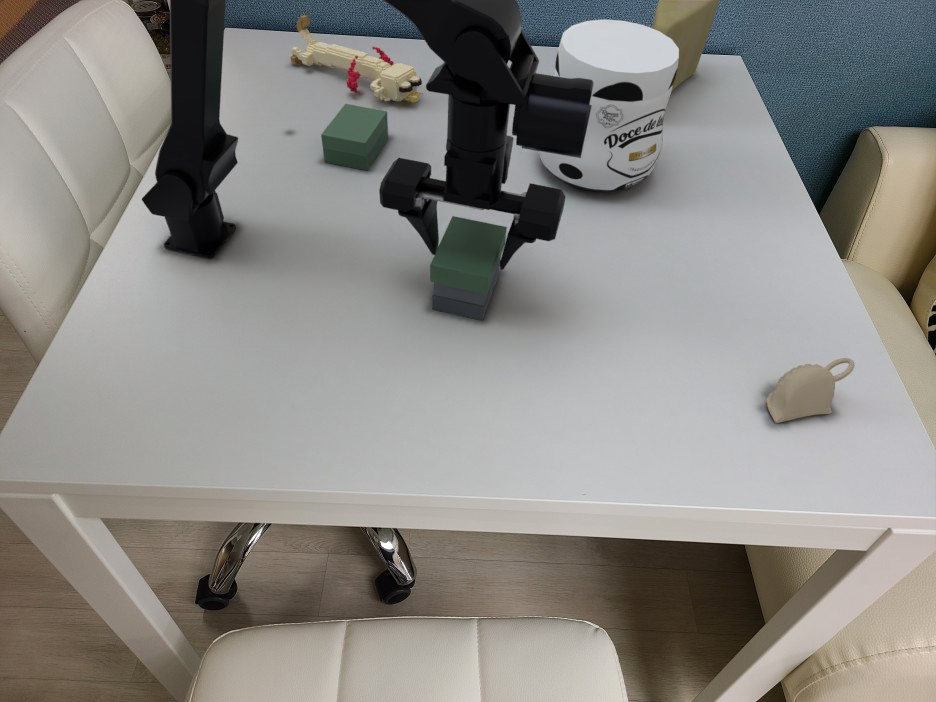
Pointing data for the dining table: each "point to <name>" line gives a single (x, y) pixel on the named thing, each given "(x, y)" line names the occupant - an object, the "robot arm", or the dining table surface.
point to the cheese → (686, 30)
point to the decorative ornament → (805, 391)
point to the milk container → (616, 102)
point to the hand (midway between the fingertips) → (468, 259)
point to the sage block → (468, 255)
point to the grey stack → (463, 299)
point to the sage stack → (355, 136)
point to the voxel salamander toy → (360, 67)
